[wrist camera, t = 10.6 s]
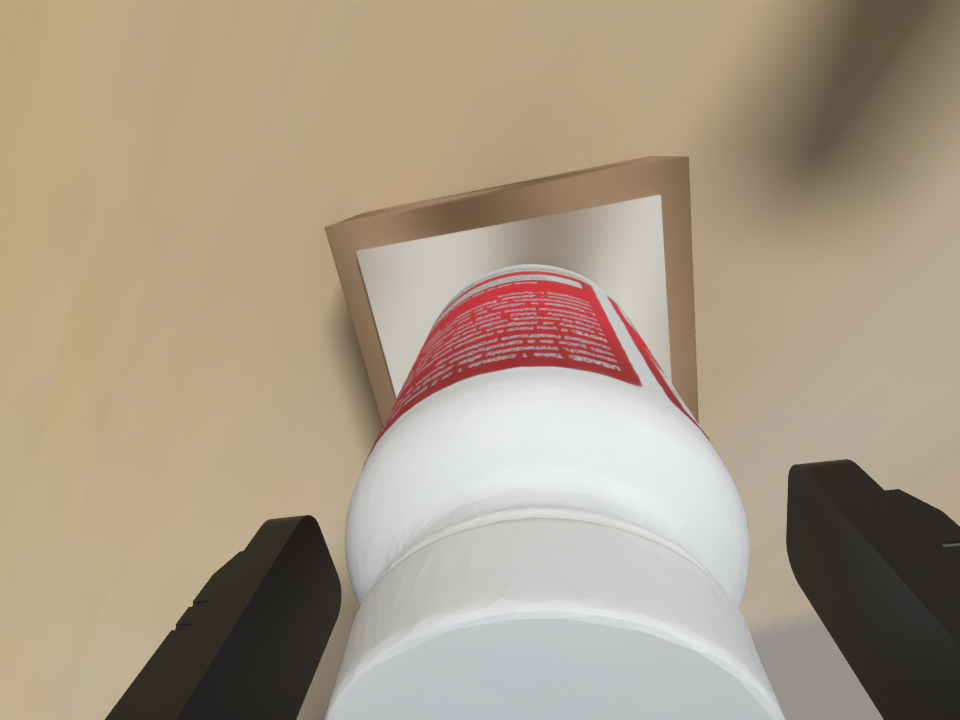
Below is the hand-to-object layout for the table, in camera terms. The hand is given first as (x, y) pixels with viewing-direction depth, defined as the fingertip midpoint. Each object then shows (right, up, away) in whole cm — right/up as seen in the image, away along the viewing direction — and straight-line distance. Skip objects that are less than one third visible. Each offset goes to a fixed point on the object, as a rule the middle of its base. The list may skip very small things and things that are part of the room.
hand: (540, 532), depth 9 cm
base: (+1, +4, +11) cm, 11 cm away
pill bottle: (+1, +3, +7) cm, 7 cm away
